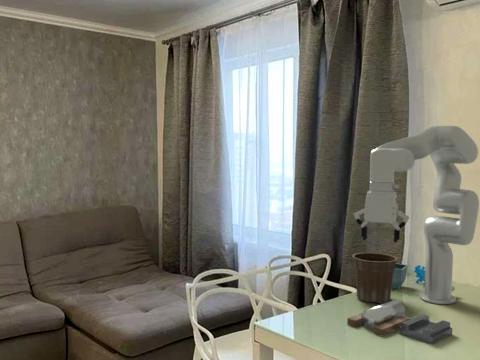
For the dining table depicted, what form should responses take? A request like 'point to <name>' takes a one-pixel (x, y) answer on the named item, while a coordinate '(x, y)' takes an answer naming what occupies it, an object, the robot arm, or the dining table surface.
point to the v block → (425, 329)
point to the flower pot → (399, 275)
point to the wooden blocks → (381, 328)
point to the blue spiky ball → (420, 273)
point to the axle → (382, 313)
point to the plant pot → (374, 276)
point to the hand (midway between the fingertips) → (380, 240)
